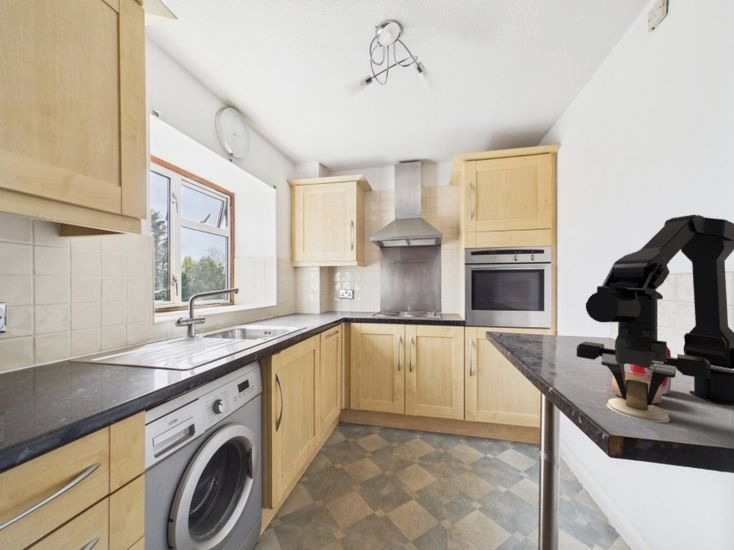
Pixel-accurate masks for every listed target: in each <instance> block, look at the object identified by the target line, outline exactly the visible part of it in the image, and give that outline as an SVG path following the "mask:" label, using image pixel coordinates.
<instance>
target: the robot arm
mask: <svg viewBox="0 0 734 550" xmlns="http://www.w3.org/2000/svg"><path fill="white" fill-rule="evenodd" d="M680 251H681V253H682V254H683V255H684V257H686V258H687V260H689V261H690V263H691V266H692V285H693V286H692V287H693V302H694V303H693V304H694V318H695V319H694V322H695V324H694V327H693V328H692V329H691V330H690V331H689V332H687V333H685V334H684V335H683V339H684V345H683V353H684V354H680V353H677V357H671V358H670V357H667V347H668V345H667V341H666V340H665V341H664V340H658V300H663V298H664V295H662V294H661V293H660V292H658V290H657V289H658V288H659V287H660V286H662V285H663V284H664V282H665V280H666V279H667V278H668V276H669V274H670V269H669V267H668V265H669V263H670V261H671V260H673V258H674V257H675V256H676V255H677V254H678V253H679V252H680ZM733 252H734V223H733V222H731V221H729V220H728V219H724V218H713V217H705V216H702V215H699V214H690V215H689V214H688V215H683V216H678V217H677V216H676V217H671V218H669V219H666V220H665V222H664V225H663V227H662V228H661V229H660V230H659V231H658V232H657V233H655V234H654V235H653V236H652V238H650V240H649V241H648V242H646V244H644V246H643V247H641V248H640V249H639V250H637V251H633V252H632V253H628V254H626V255H624V256H622V257H620V258H619V259H617V260H615V262H613V264H612V267H611V268H610V270H609V272H608V274H607V276H606V278H605V279H604V281H603V282H602V285H598V286H597V287H596V292H595V293H593V294H592V295H590V296H589V297H588V299H587V301H586V302H585V311H586V313H587V315H588V316H589V317H590V318H591V319H592V320H593V321H596V322H599V323H617V336H616V338H615V342H614V348H613V349H612V348H607V347H605V344H604V343H599V342H592V341H583V342H581V343H579V344H578V345H576V357H577V358H580V359H581V358H582V359H588V360H593V361H594V360H596V359H598V358H599V357H601V362H600V364H601V365H602V366H603V367H604V366H605V367H607V368H608V370H610V372H611V374H613V376H614V377H615V380H616V382H617V385H618V387H619V390H620V392H621V395H622V397H621V398H622V399H624V400H626V379H625V371H626V370H625V365H627V364H628V365H630V364H631V365H637V366H639V367H643V368H648V367H651V365H654V369H653V371H652V377H651V382H650V388H649V393H648V405H649V406H651V405H653V403H652V401H653V399H654V397H655V395H656V393H657V391H658V389H659V387H660V385H661V384H662V383H663V381H664V380H665V379H666V378H667V377H671V379H673V378H674V379H675V378H676V374H677V373H676V372H677V371H678V372H679V373H681V375H683V376H688V377H693V381H694V382H693V383H694V385H693V387H694V389H693V390H688V391H689V394H692V395H693V396H696V397H699V398H702V399H705V400H707V401H710V402H713V403H716V404H723V405H734V331H733V330H732V329H731V327H730V326H729V317H728V300H727V299H728V297H727V296H728V295H727V280H726V279H727V278H726V262H725V261H726V260H727V259H728V258H729V256H730V255H731V254H732V253H733Z"/></svg>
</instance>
